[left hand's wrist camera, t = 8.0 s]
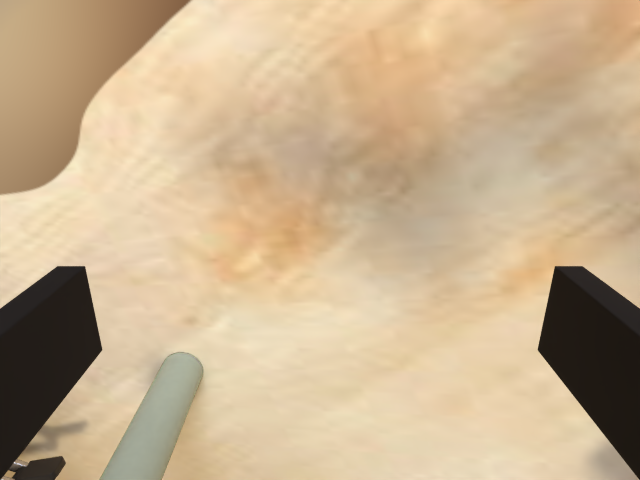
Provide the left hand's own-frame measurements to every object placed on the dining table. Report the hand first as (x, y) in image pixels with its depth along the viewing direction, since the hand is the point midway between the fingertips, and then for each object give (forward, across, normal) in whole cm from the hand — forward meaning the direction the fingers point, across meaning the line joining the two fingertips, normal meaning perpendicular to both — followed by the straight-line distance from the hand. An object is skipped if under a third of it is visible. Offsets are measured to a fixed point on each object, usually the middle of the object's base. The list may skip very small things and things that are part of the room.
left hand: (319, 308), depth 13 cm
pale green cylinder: (+28, +14, +23) cm, 39 cm away
